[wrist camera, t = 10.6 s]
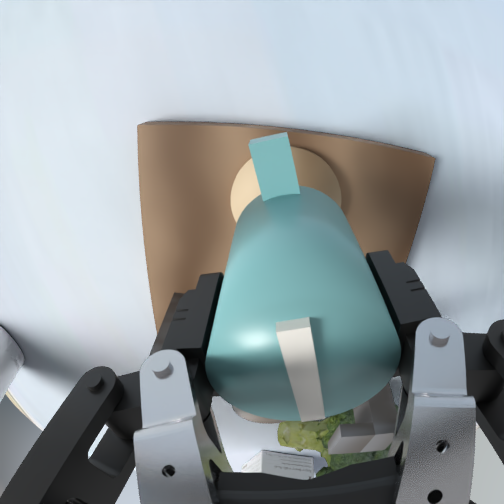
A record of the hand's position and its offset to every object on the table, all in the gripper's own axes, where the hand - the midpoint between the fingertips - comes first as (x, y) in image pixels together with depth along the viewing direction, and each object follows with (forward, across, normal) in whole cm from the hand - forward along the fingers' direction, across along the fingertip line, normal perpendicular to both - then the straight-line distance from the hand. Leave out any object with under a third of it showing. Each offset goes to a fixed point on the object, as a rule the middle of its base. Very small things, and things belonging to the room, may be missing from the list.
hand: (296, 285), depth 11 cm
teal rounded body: (+3, 0, 0) cm, 3 cm away
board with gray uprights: (+10, +1, +5) cm, 11 cm away
